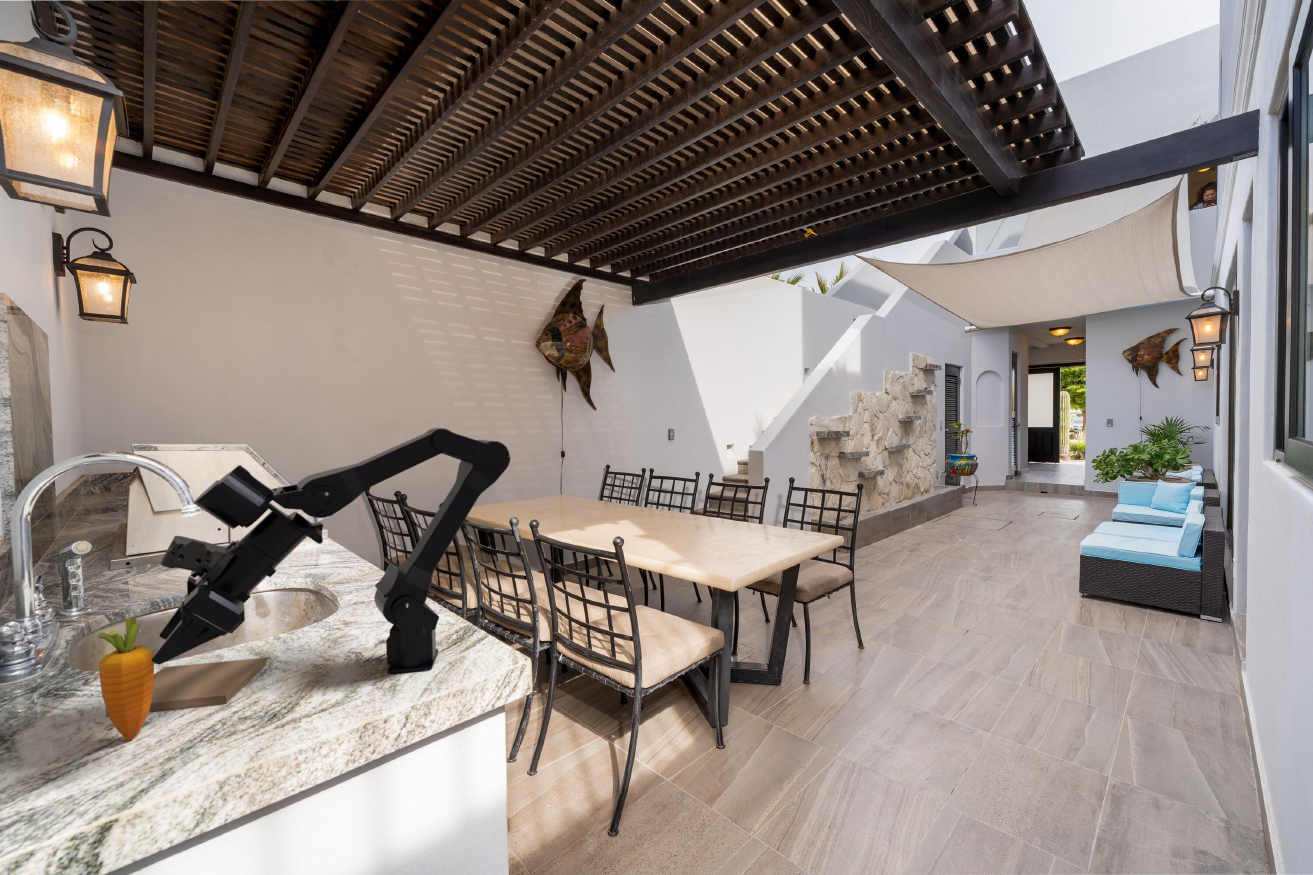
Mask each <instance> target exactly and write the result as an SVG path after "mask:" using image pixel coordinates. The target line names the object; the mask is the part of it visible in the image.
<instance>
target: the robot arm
mask: <svg viewBox="0 0 1313 875" xmlns="http://www.w3.org/2000/svg"><path fill="white" fill-rule="evenodd" d="M439 455H446V456H449V457H451V458H454V459H457V460H460V462H459V464H458V469H457V474H456V479H455V481H454V484H453V486H452V487H451V489H450V490H449V492H448V494H447V495H446V497H445V498H444V501H443V502H442V504H441V505H440V506H439V508H438V510H437V511H436V512H435V515H434V516H433V518H432V520H431V521H430V523H429V524H428V526H427V527H426V529H425V531H424V532H423V534H422V535H421V537H420V539H419V540H418V541H417V544H416V545H415V547H414V548H413V550H412V551H411V553H410V555H409V556H408V557H407V558H406V560H404V561H403V562H402V563H401V564H399V565H398V566H395V565H394V564H392V563H389V564H388V565H387V568H386V569H385V571H384V574H383V576H382V578H381V579H380V580H379V581H378V582H377V583H375V584H374V587H375V589H376V592H375V594H374V603H375V607H376V608H377V609H378V611H379V612H380V613H381V614H382V616H383V617H384V619H385V620H386V621H387V622H389V624H391V625H392V626H391V627H390V629H389V635H388V636H387V638H386V640H385V645H386V646H385V649H386V650H385V651H386V664H387V666H389V667H388V668H387V674H396V673H397V674H398V673H406V672H407V673H408V672H416V671H425V670H427V671H428V670H431V669H433V668H434V665H435V662H436V659H437V657H438V654H439V649H437V640H436V639H437V636H436V635H437V634H436V628H437V625H438V622H439V619H440V616H439V615H438V614H437V613H436V612H435V611H434V610H433V609H432V608H431V607H430V606H429V605H428V604H427V603H426V602H427V599H428V596H429V594H430V591H431V584H432V581H433V577H434V576H433V575H434V572H435V570H436V569H437V567H438V565H439V563H440V562H441V560H442V559H443V557H444V555H445V553H446V552H447V551H448V549H449V547H450V545H451V544H452V542H453V540H454V539H455V537H456V535H457V534H458V533H459V530H460V529H461V527H462V525H463V524H464V522H465V520H466V519H467V517H468V516H469V514H470V512H471V511H472V509H473V507H474V506H475V504H476V503H477V501H478V498H479V497H480V496H481V494H483V493H484V492H485V491H486V490H488V489H489V488H490V487H491V486H493V485H494V484H495V483H496V482H497V481H498V480H499V478H501V476H502V475H503V474H504V473H505V472H506V470H507V469H508V467H509V465H510V462H511V458H512V457H511V456H510V450H509V449H508V448H507V446H506V445H505V444H504V443H503V442H500V441H496V440H487V439H478V440H477V439H475V438H470V437H467V436H464V435H461V434H459V433H455V432H452V431H451V430H450V429H448V428H442V427H440V428H439V427H433V428H430V429H428V430H427V431H426V432H424V433H423V434H420V435H418V436H416V437H414V438H411V439H409V440H407V441H405V442H402V443H399V444H398V445H396V446H393V447H391V448H389V449H386V450H385V451H382V452H380V453H377V454H375V455H373V456H371V457H369V458H366V459H364V460H362V461H360V462H357V463H354V464H351V465H346V466H341V467H336V468H331V469H328V470H325V471H320V472H317V473H312V474H310V475H307V476H305V477H303V478H302V479H300V480H299V481H298V483H296V484H292V485H286V486H278V487H274V488H270V487H268V486H267V485H265V483H263V482H262V481H260V480H259V479H257V477H255V476H253V474H252V473H251V472H250V471H249V470H248V469H246V468H245V467H244V466H242V465H240V464H238V465H237V466H235V467H234V468H233V469H232V470H230V471H229V472H228V473H226V474H225V475H224V476H223V477H221V478H220V479H219V480H218V479H217V480H215V481H214V482H213V483H212V484H210V486H208V488H207V489H205V490H204V491H203V492H202V493H201V494H200V495H199V496H197V498H196V499H195V500H194V501H193V505H194V504H195V505H196V506H197V507H199V508H200V509H201V510H203V511H204V512H206V513H208V514H209V515H210V516H212V517H214V518H215V519H216V520H218V521H220V522H221V523H223V524H224V525H226V527H229V528H230V529H232V530H234V529H236V528H237V527H239V526H240V527H241V528H246V529H248V528H249V527H251V526H252V525H253V524H255V522H257V521H258V520H259V519H260V518H261V517H262V516H263V515H264V514H265V513H266V512H267V511H268V510H269V511H270V512H269V513H268V514H267V515H266V516H265V517H264V518H263V519H262V520H260V521H259V522H258V524H256V525H255V526H254V527H253V528H252V529H250V531H248V533H246V535H244V537H242V538H241V539H240V540H239V539H237V540H236V541H235V540H232V541H231V542H230V543H229V544H228V545H227V546H226V547H224V546H222V545H221V546H220V545H217V544H215V543H210V542H207V541H205V540H199V539H194V538H190V537H186V536H182V535H181V536H180V535H175V536H173V539H172V540H171V542H170V544H169V546H168V547H167V549H166V550H165V551H166V552H165V553H164V555H163V557H162V559H161V561H160V563H159V564H160V566H162V567H165V568H169V569H181V570H187V571H191V572H190V576H188V577H187V581H186V588H187V590H186V592H187V593H186V594H187V595H186V596H185V598H184V599H183V601H182V602H181V603H180V604H179V607H178V608H177V609H176V611H175V612H174V613H173V615H172V616H171V618H170V619H169V620H168V622H167V623H166V624H165V625H164V627H163V629H162V630H161V631H160V633H159V634H158V635H159V638H161V639H164V640H165V641H164V642H163V643H162V644H161V646H160V647H159V648H158V650H157V651H156V652H155V654H153V655H154V656H153V658H152V662H154V664H157V665H162V664H164V663H166V662H169V661H170V660H173V659H174V658H177V657H178V656H181V655H182V654H185V653H187V652H189V651H191V650H193V649H195V648H197V647H200V646H201V645H204V644H206V643H208V642H210V641H212V640H215V639H217V638H219V637H221V636H222V637H224V636H227V634H233V633H234V632H235V631H236V630H237V629H238V628H239V627H240V626H241V625H242V624H243V623H244V622H245V619H246V618H245V617H246V616H245V603H246V602H247V601H249V599H250V598H251V593H252V591H254V589H256V587H258V586H259V585H260V584H261V583H262V582H263V581H264V580H265V579H266V578H267V577H268V578H271V577H272V576H273V575H274V574H276V572H277V569H276V568H277V567H278V566H279V565H280V564H281V563H282V562H283V561H284V560H285V559H286V558H287V557H288V556H289V555H290V554H291V553H292V552H293V551H294V550H295V549H296V548H297V547H299V545H300V544H301V543H302V542H303V541H304V540H305V539H306V538H307V537H308V538H309V539H311V540H312V541H314V542H315V543H316V544H318V545H319V544H320V545H321V544H323V542H324V539H323V529H324V524H323V523H322V522H321V521H319V522H318V521H317V522H311V521H309V520H308V519H307V518H305V517H304V516H303V515H301V514H300V513H298V512H297V511H294V512H292V513H289V514H287V513H285V512H284V511H283V510H281V509H279V508H278V507H276V506H275V505H273V503H271V502H272V501H273V502H274V503H275V504H277V505H278V506H279V507H282V508H283V509H287V510H288V509H289V510H300V511H302V512H303V513H304V514H306V515H307V516H309V517H313V518H317V519H324V518H328V517H332V516H334V515H335V514H336V513H338V512H339V511H341V510H342V509H344V508H345V507H347V506H349V505H350V504H352V503H353V502H354V501H356V500H357V498H359V497H360V496H362V494H364V493H365V492H367V491H368V490H369V489H370V488H371V487H373V486H376V485H378V484H380V483H382V482H384V481H386V480H389V479H391V478H393V477H394V476H397V475H398V474H402V473H403V472H405V471H408V470H410V469H412V468H413V467H415V466H418V465H419V464H422V463H424V462H426V461H429V460H430V459H433V458H434V457H436V456H439Z"/></svg>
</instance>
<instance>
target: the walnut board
mask: <svg viewBox="0 0 1313 875" xmlns="http://www.w3.org/2000/svg"><path fill="white" fill-rule="evenodd" d="M267 661H268V660H267V657H258V658H248V659H236V660H226V661H216V662H215V661H214V662H213V661H212V662H203V663H194V664H182V665H174V666H173V665H172V666H164V667H162V668H160V669H159V670H158V671H156V672H154V688H153V694H152V700H151V704H150V709H149V712H148V713H152V712H160V711H161V712H163V711H168V710H169V711H170V710H179V709H181V710H182V709H187V708H188V709H189V708H196V707H198V708H199V707H207V706H216V705H223V704H224V705H225V704H228V703H229V702H230V701H231V700H232V699H233V697H235V696H237V695H238V693H239V692H240V691H241V690H242V689H243V688H244V687H246V685H247V684H249V682H251V680H253V679H254V678H255V677H256V676H257V675H258V674H259V673H260V672H261V671H262V670H263V669H264V668H265V667H266V666H268V665H267V664H268V663H267ZM105 715H106V716H105V717H109V715H108V712H107V710H106V709H105Z"/></svg>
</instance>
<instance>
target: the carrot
mask: <svg viewBox="0 0 1313 875" xmlns="http://www.w3.org/2000/svg"><path fill="white" fill-rule="evenodd" d="M140 628H141V626H140V624H138V623H137V618H136V617H132V616H130V617H127V618H126V619H125V630H126V633H125V634H123V636H122V635H120V633H119V632H118V631H117V630H112V631H109V633H106V632H100V633H99V634H97V638H99V639H103V640H105V641H106V642H108V643H109V644H111V645H112V646H113V647H114V648H115V650H114V651H112V652H110V653H108V654H106V655H105V656H103V657H102V658H101V659H100V660H99V663H98V672H99V683H100V690H101V696H102V700H103V704H104V706H105V711H106V710H107V712H108V715H109V716H108V717H109V719H110V721H111V723H112V724H113V726H114V727H115V729H116V730H117V732H118V733H119V734H120V735H121V736H122V737H123V738H124V739H125V740H127V741H133V740H134V739H135V738H136V737H137V736H138V735H139V733H140V731H141V730H142V728H143V726H144V725H145V722H146V720H147V717H148V714H149V713H150V712H149V709H150V704H151V700H152V694H153V688H154V674H155V663H154V662H152V658H153V656H154V655H155V654H154V653H153V651H152V650H151V649H150V648H149V647H147V646H145V645H135V642H136V637H137V635H138V633H139V631H140Z"/></svg>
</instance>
